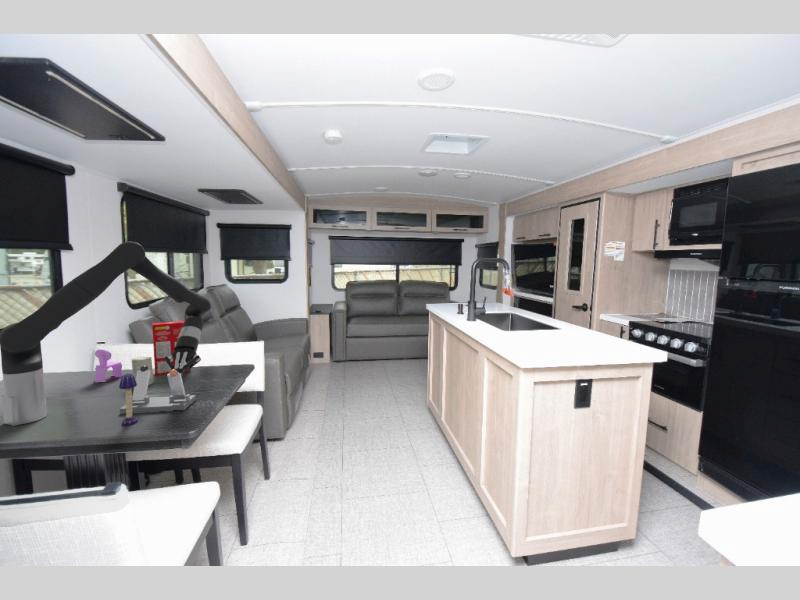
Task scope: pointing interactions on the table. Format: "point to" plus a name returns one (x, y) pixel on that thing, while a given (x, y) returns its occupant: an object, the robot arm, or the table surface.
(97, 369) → the toy chair
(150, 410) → the switch panel
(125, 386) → the toy lamp
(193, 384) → the table surface
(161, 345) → the food packaging
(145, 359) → the skincare box
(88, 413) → the table surface
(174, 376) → the copper knob lever
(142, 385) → the black knob lever
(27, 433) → the table surface
